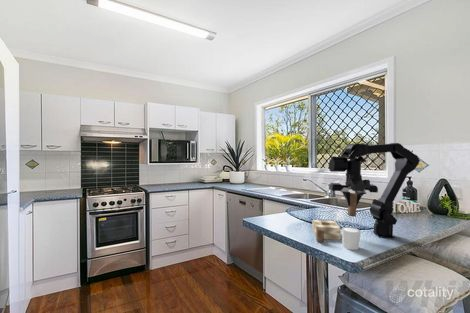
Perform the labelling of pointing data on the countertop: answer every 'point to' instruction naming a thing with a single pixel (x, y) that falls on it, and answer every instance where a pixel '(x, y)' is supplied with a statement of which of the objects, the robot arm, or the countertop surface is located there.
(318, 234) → the short pin
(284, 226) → the countertop surface
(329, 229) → the hole block
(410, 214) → the countertop surface
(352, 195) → the tall pin
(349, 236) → the white cylinder
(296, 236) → the countertop surface
